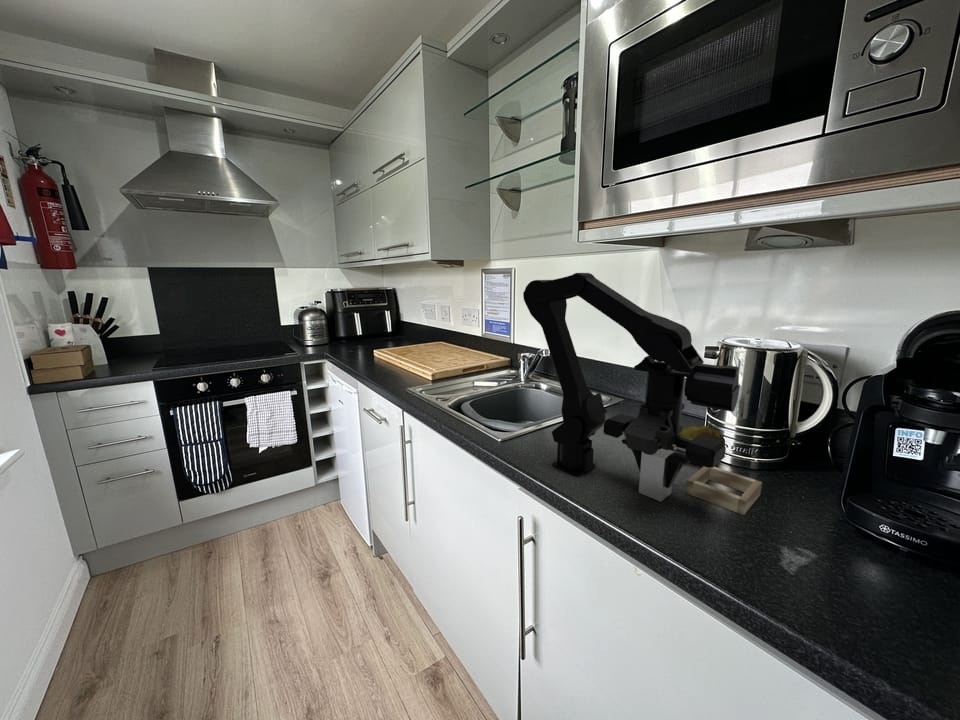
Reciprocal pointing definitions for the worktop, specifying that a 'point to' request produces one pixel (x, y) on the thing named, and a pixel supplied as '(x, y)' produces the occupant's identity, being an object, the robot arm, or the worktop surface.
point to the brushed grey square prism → (655, 475)
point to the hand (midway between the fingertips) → (655, 482)
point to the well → (722, 497)
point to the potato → (700, 433)
